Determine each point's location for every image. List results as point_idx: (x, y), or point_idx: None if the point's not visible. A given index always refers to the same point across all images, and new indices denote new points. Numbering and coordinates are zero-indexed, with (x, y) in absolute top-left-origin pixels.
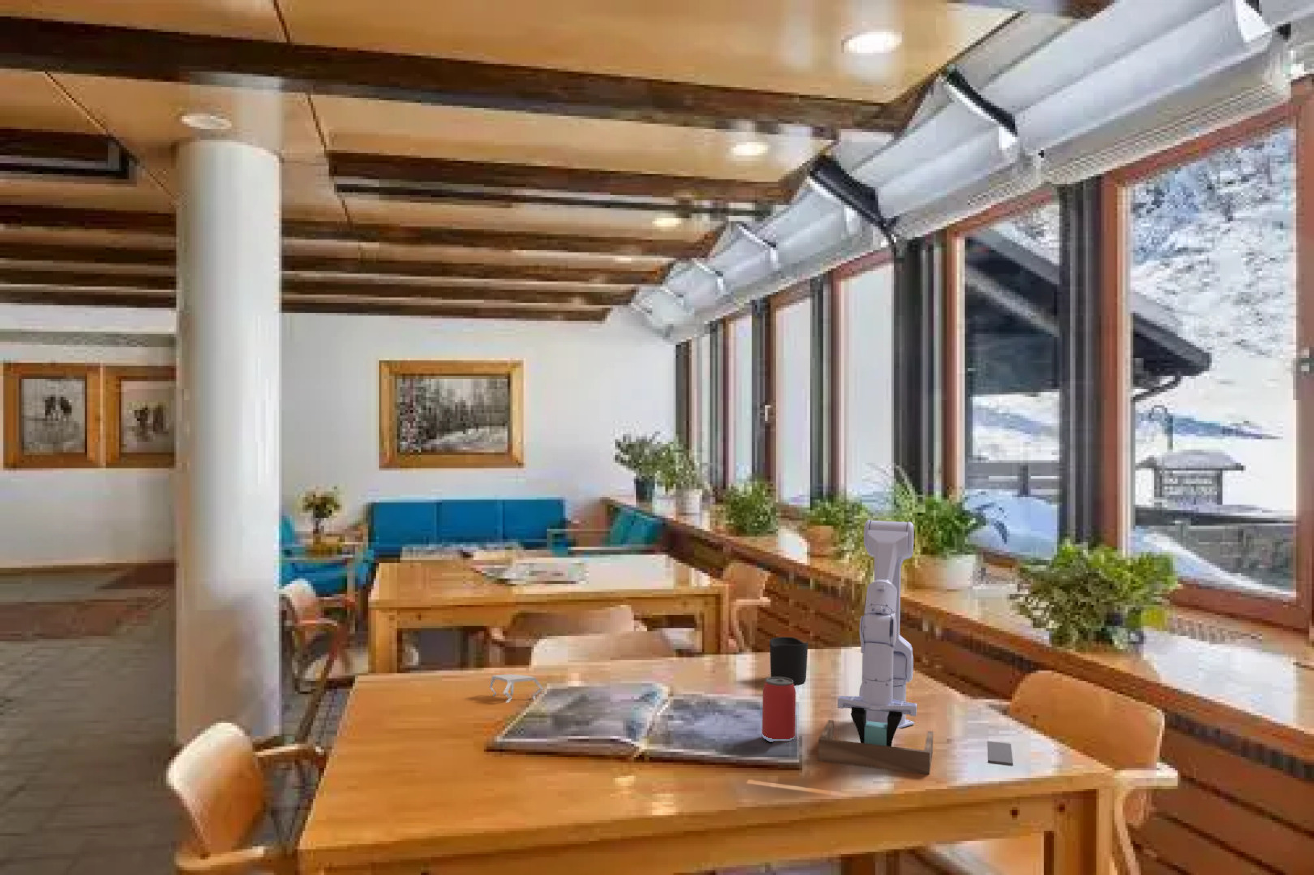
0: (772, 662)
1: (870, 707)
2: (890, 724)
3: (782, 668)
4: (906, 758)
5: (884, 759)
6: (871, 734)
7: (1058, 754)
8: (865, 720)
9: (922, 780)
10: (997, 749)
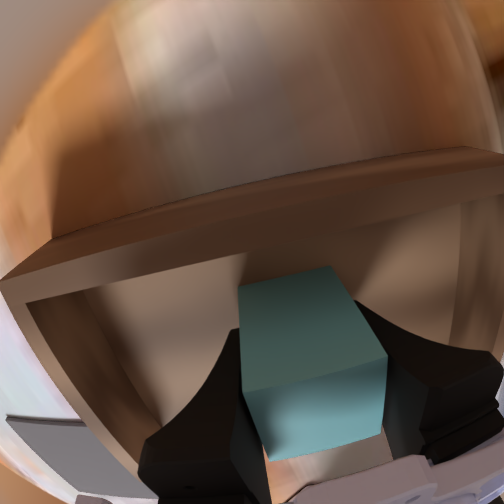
0: (499, 495)
1: (422, 470)
2: (212, 423)
3: None
4: (97, 241)
5: (207, 205)
6: (331, 341)
7: (17, 468)
8: (391, 423)
9: (56, 196)
10: (71, 471)
